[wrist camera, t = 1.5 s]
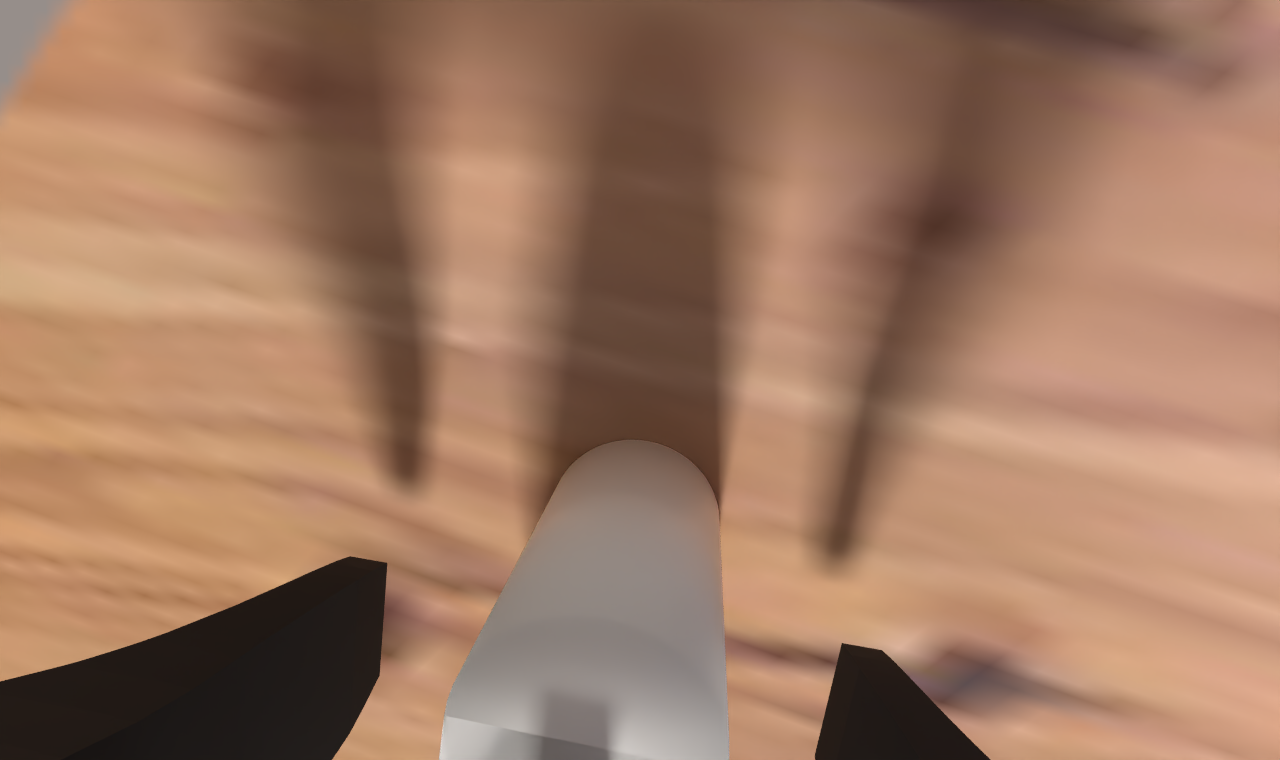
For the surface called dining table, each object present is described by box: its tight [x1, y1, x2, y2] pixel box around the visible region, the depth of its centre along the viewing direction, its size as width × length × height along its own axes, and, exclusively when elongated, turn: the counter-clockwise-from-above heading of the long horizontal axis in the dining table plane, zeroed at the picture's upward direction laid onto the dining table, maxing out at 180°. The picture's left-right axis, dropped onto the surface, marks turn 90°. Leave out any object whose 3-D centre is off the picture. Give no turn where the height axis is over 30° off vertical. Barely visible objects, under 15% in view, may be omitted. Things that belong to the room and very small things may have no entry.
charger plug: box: [439, 440, 729, 760], centre depth 10 cm, size 3×6×7 cm, turn 171°
